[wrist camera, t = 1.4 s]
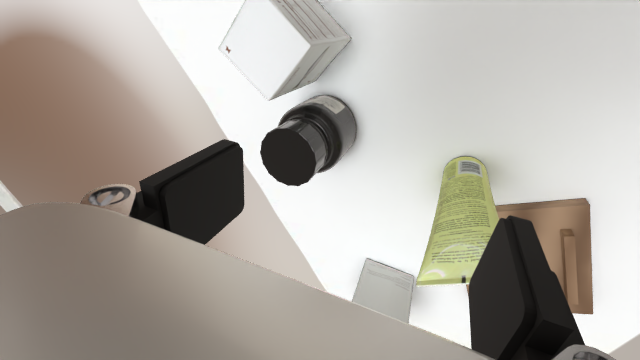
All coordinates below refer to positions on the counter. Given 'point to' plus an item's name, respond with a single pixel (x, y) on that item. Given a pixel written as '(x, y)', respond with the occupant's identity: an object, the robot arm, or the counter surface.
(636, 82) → the counter surface
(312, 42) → the supplement box
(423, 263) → the tube
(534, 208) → the wooden tube holder
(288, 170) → the ink bottle
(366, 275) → the skincare box
